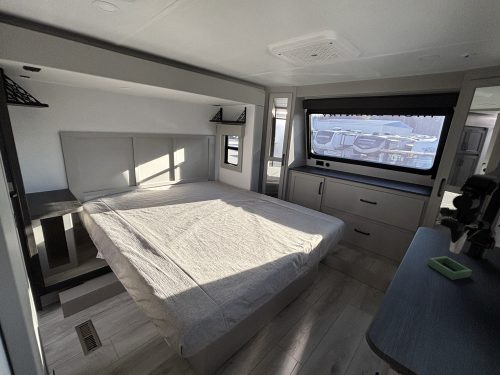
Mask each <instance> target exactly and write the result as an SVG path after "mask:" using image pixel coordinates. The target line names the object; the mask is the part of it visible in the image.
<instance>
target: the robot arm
mask: <svg viewBox="0 0 500 375" xmlns="http://www.w3.org/2000/svg"><path fill="white" fill-rule="evenodd" d="M459 191H460V192H462V194H459V195H456V196H455V197H454V198H453V199H452V205H453V207H454V208H455V209H454V208H449V207H448V206H447V207H446V206H443V207H441V208H440V211H439V214H440V215H441V217H447V218H442V219H441V220H440V223H439V224H440V226H442V227H443V226H444V227H446V228H448V229H449V230H450V243H451V242H453V243H456V242H457V241H458V240H459V239H460V238H461V237H462V236H463V235H464V234H465V233H466V232H467V231H468V230H469V231H468V233H467V234H466V235H467V238H466V240H465V242H468V243H470V244H469V246H468V249H467V250H463V251H462V253H464V254H466V255H467V256H469V257H472V258H473V259H475V260H478V261H480V260H486V259H488V257H487V256H485V255H486V252H487V250H491V251H494V250H495V248H496V245H497V242H496V241H497V240H496V235H497V233H496V230H495V225H496V222H497V220H498V218H499V216H500V166H497V167H495V169H493V170H491V171H488V172H487V173H484V174H483V173H482V174H481V173H479V174H478V173H475V174H472V175H471V176H469V177H467V180H466V181H465V182H464V183H463V185H462V186H461V187H460V189H459ZM489 197H490V199H489V201H488V204H487V206H486V208H485V210H484V211H482V210H483V208H484V206H485V203H486V202H487V198H489ZM480 216H482V217H481V218H479V217H480ZM448 217H449V218H448Z"/></svg>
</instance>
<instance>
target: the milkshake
mask: <svg viewBox="0 0 500 375" xmlns="http://www.w3.org/2000/svg"><path fill="white" fill-rule="evenodd" d="M468 231H469V230H468ZM468 231H467V232H466V233H465V234H464V235H463V236H462V237H461V238H460V239H459V240H458V241H457V242H456V243H453V242H451V241H450V245H449V251H450V253H453V254H455V255H457V254H459V255H460V253H461V252H462V249H463V247H464V244H465V242H466V241H465V240H466V238H467V235H466V234H467V233H468Z"/></svg>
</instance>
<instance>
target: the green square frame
mask: <svg viewBox="0 0 500 375" xmlns="http://www.w3.org/2000/svg"><path fill="white" fill-rule="evenodd" d="M426 264H427V265H428V266H429V267H431V268H432V269H434V270H435V271H437V272H439V273H440V274H442V275H444V276H445V277H446V278H448V279H450V280H452V281H454V280H458V279H459V280H460V279H464V278H470V277H471V274H472V273H473V270H472V269H470V268H468V267H466V266H465V265H463V264H460V263H459V262H458V261H455V260H454V259H453V258H450V257H448V256H446V255H443V256H439V257H438V256H436V257H429V258H428V261H427V263H426ZM443 264H445V265H446V266H448V267H446V266H445V265H443ZM449 267H450V268H449ZM451 268H452V269H454V270H455V271H453V270H451Z"/></svg>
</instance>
